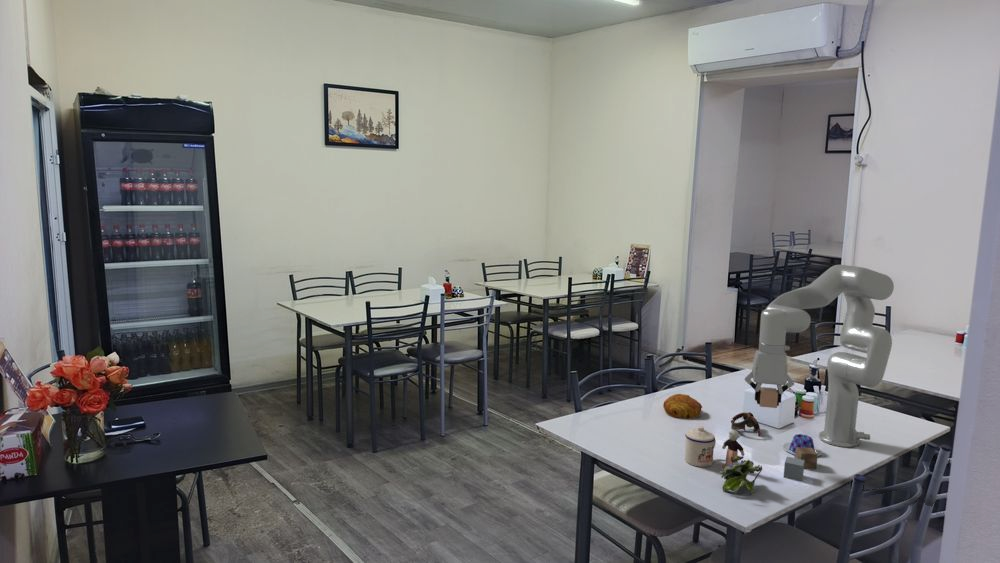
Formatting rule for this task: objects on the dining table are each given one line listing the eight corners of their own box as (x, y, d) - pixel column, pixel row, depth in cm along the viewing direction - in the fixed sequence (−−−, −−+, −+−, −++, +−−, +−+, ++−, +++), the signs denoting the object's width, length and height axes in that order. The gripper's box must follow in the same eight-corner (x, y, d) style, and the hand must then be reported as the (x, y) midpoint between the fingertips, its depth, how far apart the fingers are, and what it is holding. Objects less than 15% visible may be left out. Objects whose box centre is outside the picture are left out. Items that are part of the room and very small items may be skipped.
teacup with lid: (700, 470, 200) (702, 434, 198) (677, 459, 207) (679, 425, 206) (725, 461, 206) (727, 427, 205) (702, 451, 214) (704, 418, 212)
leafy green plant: (733, 500, 192) (749, 463, 195) (760, 510, 182) (776, 472, 185) (707, 483, 189) (723, 446, 192) (733, 493, 179) (750, 454, 182)
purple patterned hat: (779, 442, 223) (781, 428, 222) (817, 446, 220) (818, 432, 220) (786, 456, 212) (787, 441, 211) (825, 461, 209) (827, 445, 208)
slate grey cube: (803, 475, 198) (804, 460, 197) (801, 481, 193) (802, 466, 193) (785, 471, 200) (787, 456, 199) (783, 477, 196) (784, 462, 195)
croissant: (657, 419, 249) (657, 400, 247) (672, 403, 262) (672, 385, 260) (694, 427, 241) (694, 407, 239) (707, 410, 253) (707, 391, 251)
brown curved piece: (761, 441, 225) (751, 421, 224) (735, 446, 231) (725, 427, 230) (765, 422, 235) (755, 403, 234) (740, 427, 240) (730, 409, 239)
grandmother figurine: (717, 466, 203) (719, 428, 201) (722, 462, 206) (725, 425, 204) (741, 474, 198) (744, 434, 196) (746, 470, 200) (749, 431, 198)
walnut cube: (810, 462, 207) (811, 447, 206) (816, 469, 202) (817, 454, 201) (794, 461, 208) (795, 447, 207) (799, 468, 203) (801, 453, 202)
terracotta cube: (774, 403, 206) (775, 388, 206) (776, 408, 202) (778, 392, 201) (758, 401, 208) (759, 386, 207) (759, 406, 203) (761, 391, 202)
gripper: (798, 347, 203) (794, 402, 206) (741, 343, 208) (738, 397, 211) (803, 353, 196) (798, 410, 199) (743, 349, 201) (740, 404, 203)
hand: (767, 403), depth 205 cm, fingers closed on terracotta cube, 5 cm apart
